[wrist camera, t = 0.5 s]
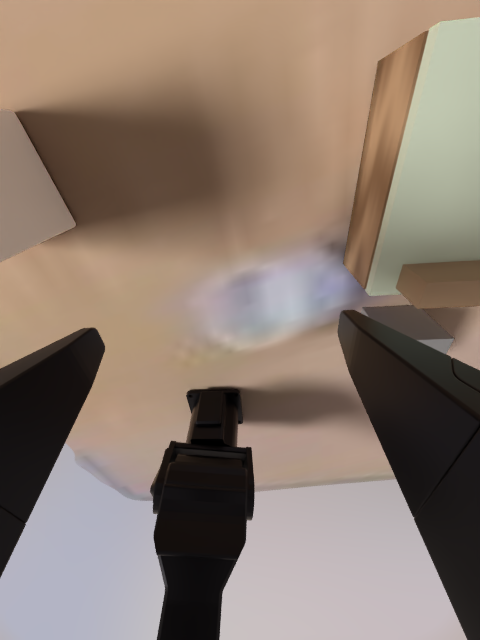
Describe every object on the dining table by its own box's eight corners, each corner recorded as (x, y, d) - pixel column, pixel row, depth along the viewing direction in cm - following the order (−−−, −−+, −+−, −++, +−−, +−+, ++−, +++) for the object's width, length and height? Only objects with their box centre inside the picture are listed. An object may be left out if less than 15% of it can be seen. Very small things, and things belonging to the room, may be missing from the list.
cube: (401, 345, 26) (430, 383, 22) (352, 347, 26) (371, 384, 22) (417, 304, 23) (454, 338, 19) (361, 307, 23) (386, 341, 19)
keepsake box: (468, 256, 20) (517, 281, 17) (343, 263, 21) (363, 288, 17) (569, 42, 13) (690, 2, 10) (378, 61, 14) (424, 31, 10)
